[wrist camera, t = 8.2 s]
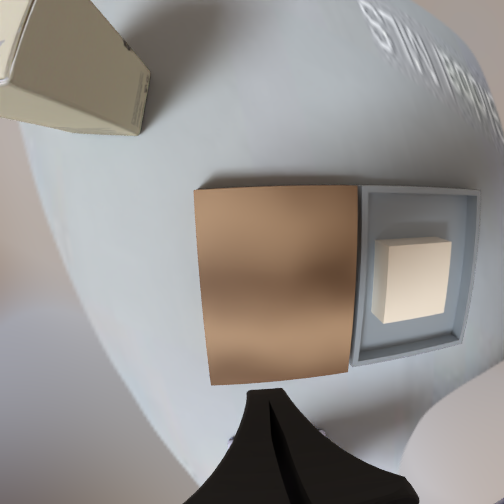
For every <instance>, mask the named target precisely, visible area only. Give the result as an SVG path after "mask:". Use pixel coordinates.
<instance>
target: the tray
mask: <svg viewBox="0 0 504 504" xmlns="http://www.w3.org/2000/svg"><path fill="white" fill-rule="evenodd" d="M355 186H357V189H358V226H357V263H356V284H355V300H354V314H353V326H352V337H351V347H350V357H349V363H350V365H351V366H352V367H356V366H362V365H368V364H373V363H379V362H384V361H389V360H394V359H399V358H404V357H409V356H413V355H418V354H422V353H426V352H430V351H435V350H439V349H443V348H447V347H450V346H454V345H458V344H462V341H463V337H464V332H465V328H466V323H467V318H468V313H469V308H470V302H471V296H472V290H473V283H474V276H475V269H476V260H477V251H478V240H479V226H480V205H481V190H472V189H458V188H441V187H419V186H388V185H355ZM434 236H435V237H439V238H442V239H445V240H448V241H451V242H452V244H451V257H450V268H449V277H448V286H447V293H446V301H445V307H444V313H440V314H435V315H430V316H425V317H419V318H414V319H409V320H403V321H397V322H391V323H385V324H383V323H382V322H381V321H380V320H379V319H378V318H377V317H376V316H375V315H374V314H373V313H372V312H371V308H372V294H373V278H374V256H375V240H385V239H401V238H417V237H434Z"/></svg>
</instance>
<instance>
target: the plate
mask: <svg viewBox="0 0 504 504" xmlns="http://www.w3.org/2000/svg"><path fill="white" fill-rule="evenodd" d="M194 206H195V223H196V237H197V251H198V264H199V276H200V288H201V299H202V309H203V319H204V329H205V338H206V347H207V356H208V364H209V373H210V381H211V385H231V384H248V383H261V382H273V381H283V380H293V379H301V378H310V377H317V376H325V375H332V374H338V373H345V372H348V366H349V357H350V347H351V337H352V326H353V314H354V300H355V284H356V263H357V226H358V189H357V186H355V185H287V186H255V187H232V188H213V189H197V190H194Z"/></svg>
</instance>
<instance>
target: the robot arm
mask: <svg viewBox="0 0 504 504" xmlns="http://www.w3.org/2000/svg"><path fill="white" fill-rule="evenodd" d="M183 504H419V497H418V495H417V493H416V492H415V490H414V488H413V487H412V486H411V484H410V483H409V482H408V481H407V479H406V478H405V477H403V476H400V475H397V474H394V473H391V472H388V471H385V470H382V469H379V468H377V467H375V466H372V465H370V464H368V463H366V462H364V461H362V460H360V459H358V458H356V457H354V456H353V455H351V454H349V453H347V452H346V451H344V450H343V449H341V448H340V447H338V446H337V445H336V444H334V443H333V442H332V441H330V440H329V439H328V438H327V437H326V433H325V431H323V430H318V429H317V428H315V427H314V426H313V425H312V424H311V423H310V422H309V421H308V419H307V418H306V417H305V416H304V415H303V414H302V413H301V412H300V411H299V409H298V408H297V407H296V406H295V405H294V403H293V402H292V401H291V399H290V398H289V397H288V395H287V394H286V392H285V391H284V390H283V389H282V388H275V389H261V390H249V391H248V392H247V400H246V406H245V410H244V414H243V417H242V420H241V423H240V426H239V428H238V430H237V433H236V435H235V437H234V439H233V440H230V441H229V442H228V451H227V453H226V454H225V456H224V458H223V459H222V461H221V462H220V464H219V465H218V466H217V468H216V469H215V471H214V472H213V473H212V475H211V476H210V477H209V478H208V479H207V480H206V481H205V483H204V484H203V485H202V486H201V487H200V488H199V489H198V490H197V491H196V492H195V493H194V494H193V495H192V496H191V497H190V498H189V499H188V500H187V501H186V502H184V503H183ZM495 504H504V498H503V499H501V500H500V501H498V502H496V503H495Z"/></svg>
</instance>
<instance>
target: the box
mask: <svg viewBox="0 0 504 504" xmlns="http://www.w3.org/2000/svg"><path fill="white" fill-rule="evenodd" d="M150 74H151V73H150V71H149V70H148V68H147V67H146V66H145V65H144V63H143V62H142V61H141V60H140V58H139V57H138V56H137V55H136V54H135V53H134V51H133V50H132V49H131V48H130V47H129V45H128V44H127V43H126V42H125V41H124V40H123V38H122V37H121V36H120V34H119V33H118V32H117V31H116V30H115V29H114V27H113V26H112V25H111V24H110V23H109V22H108V20H107V19H106V18H105V17H104V16H103V14H102V13H101V12H100V11H99V10H98V9H97V8H96V7H95V5H94V4H93V3H92V2H91V1H90V0H0V117H1V118H6V119H11V120H16V121H21V122H26V123H31V124H36V125H41V126H46V127H50V128H54V129H59V130H63V131H67V132H71V133H81V134H100V135H124V136H138V135H139V134H140V130H141V124H142V119H143V113H144V108H145V102H146V97H147V92H148V86H149V80H150Z"/></svg>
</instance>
